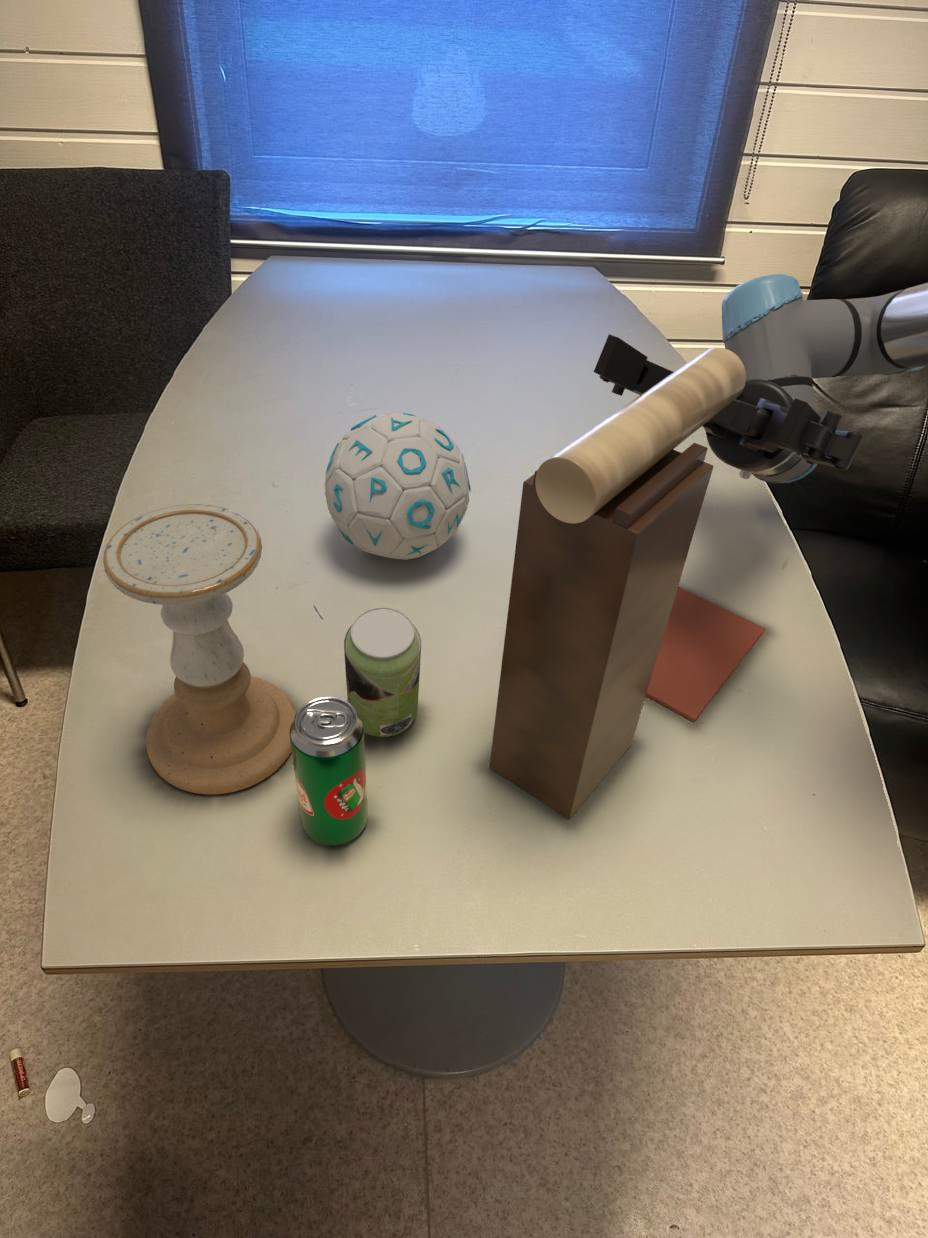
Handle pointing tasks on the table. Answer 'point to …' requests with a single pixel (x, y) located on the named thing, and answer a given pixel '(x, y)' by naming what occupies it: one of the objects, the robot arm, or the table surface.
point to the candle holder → (203, 648)
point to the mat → (698, 653)
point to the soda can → (330, 770)
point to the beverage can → (383, 670)
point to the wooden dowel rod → (638, 436)
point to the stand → (590, 628)
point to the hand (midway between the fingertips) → (693, 385)
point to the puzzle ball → (397, 486)
